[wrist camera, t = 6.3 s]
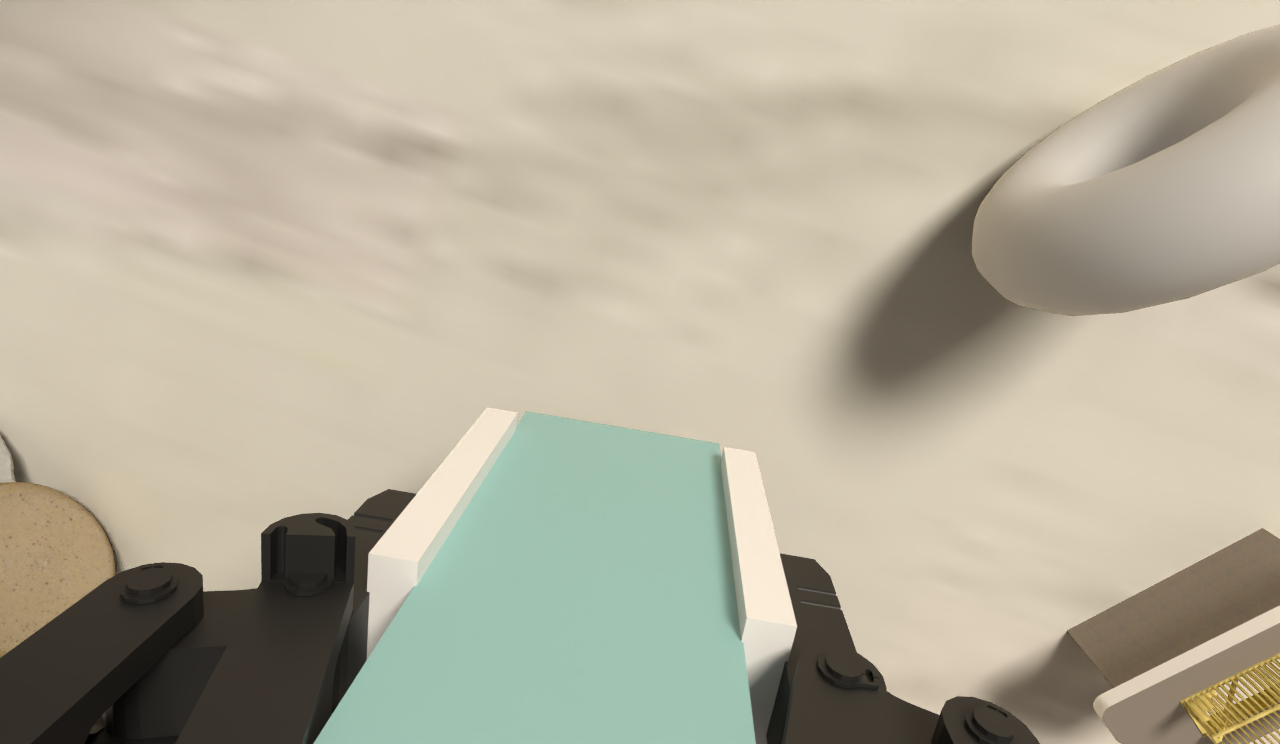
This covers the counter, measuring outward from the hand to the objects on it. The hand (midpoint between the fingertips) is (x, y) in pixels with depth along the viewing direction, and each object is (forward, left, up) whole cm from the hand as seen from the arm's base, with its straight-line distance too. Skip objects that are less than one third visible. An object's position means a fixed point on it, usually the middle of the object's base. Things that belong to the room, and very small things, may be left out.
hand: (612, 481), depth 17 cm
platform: (+6, +22, -10) cm, 25 cm away
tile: (0, 0, -1) cm, 1 cm away
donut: (-9, +13, -10) cm, 18 cm away
